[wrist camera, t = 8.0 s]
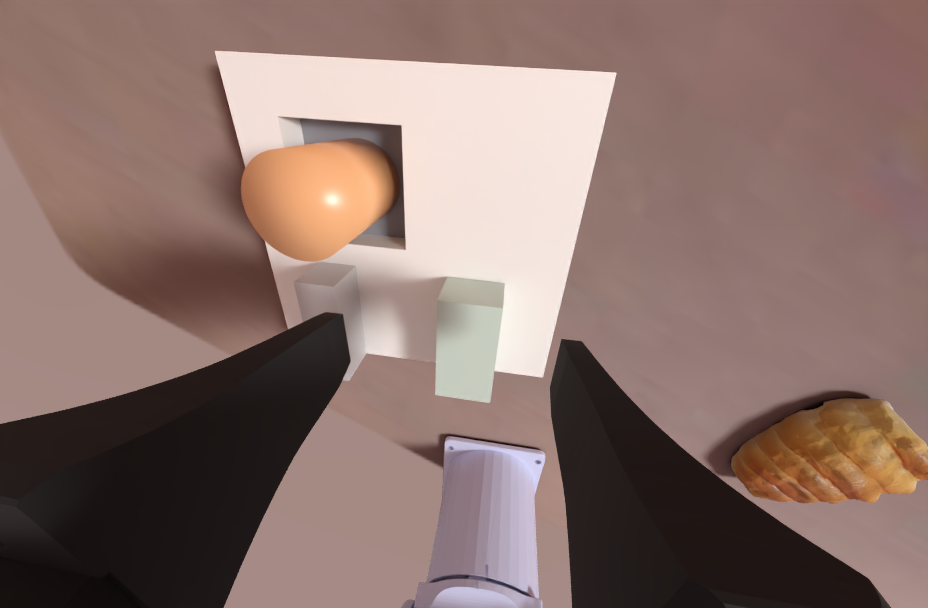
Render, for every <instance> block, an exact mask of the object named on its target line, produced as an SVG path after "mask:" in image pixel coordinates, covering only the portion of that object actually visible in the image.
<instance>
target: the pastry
mask: <svg viewBox="0 0 928 608" xmlns="http://www.w3.org/2000/svg"><path fill="white" fill-rule="evenodd" d="M731 468H732V470H733V471H734V473H735V474H736V476H737V477H738V479H739V480H740V481H741V482H742V483H743V484H744V485H745V487H746V488H747V490H748V491H749V492H750V493H751V494H752V495H753V496H755V497H760V498H765V499H769V500H774V501H779V502H788V501H793V500H794V501H797V502H800V503H813V502H828V503H832V504H835V503H838V502H840V501H845V500H849V499H856V500H861V501H864V502H869V503H873V502H875V501H877V500H878V498H879V496H880V494H882V493H886V494H909V493H912V492H914V491H915V488H916V483H917V481H918V480H928V447H927V445H926V443H925V442H924V441H923V440H922V439H921V438H919V437H918V436H917V435H916V434H915V433H914V432H913V431H912V429H911V428H910V427H909V426H908V425H907V424H906V423H905V422H904V421H903V419H902V418H900V417H899V416H898V415H897V414H896V413H895V411H893V408H892V407H891V405H890V404H889V403H888V402H887V401H885V400H880V399H852V398H840V399H836V400H830V401H825V402H824V404H823V405H822V406H821V407H819V408H816V409H813V410H807V411H806V410H801V411H799V412H797V413H795V414H793V415H791V416H788V417H786V418H784V420H783V421H781V422H780V423H777V424H774V425H772V426H771V427H769V428H768V429H766V430H764V431H763V432H761V433H760V434H758V435H756V436H754V437H753V438H751V439H750V440H748V441H747V442H745V443H744V444H743V445H742V446H741V447H740V449H739V451H738V452H737V453H736V454H735V455H734V456H733V457H732V460H731Z"/></svg>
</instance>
